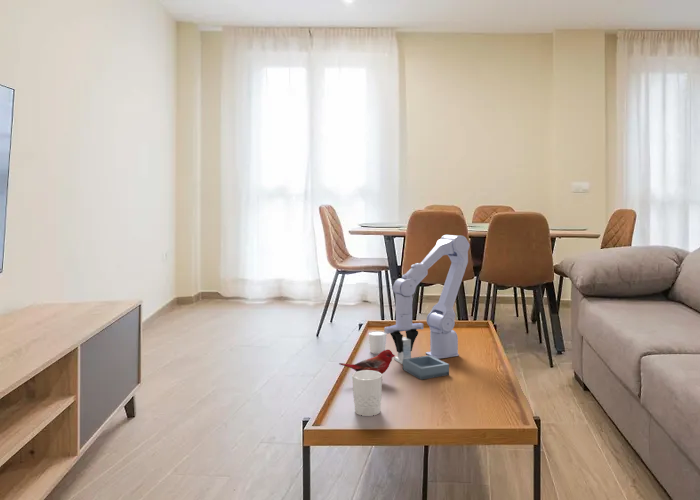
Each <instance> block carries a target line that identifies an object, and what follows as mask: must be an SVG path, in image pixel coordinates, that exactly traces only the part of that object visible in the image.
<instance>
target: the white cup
mask: <svg viewBox="0 0 700 500" xmlns="http://www.w3.org/2000/svg"><path fill="white" fill-rule="evenodd" d="M351 380H352V392H353V393H352V395H353V402H354V403H353V404H354V412H355V414H357V415H358V416H361V415H362V417H373V415H374V416H376V415H378V414H380V413H381V404H382V403H381V401H382V387H383V385H382V384H383V383H382V382H383V374H381V373H380V372H377V371H373V370H362V371H357V372H356V371H355V372H353V373H352V375H351Z"/></svg>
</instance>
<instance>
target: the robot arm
mask: <svg viewBox="0 0 700 500" xmlns="http://www.w3.org/2000/svg"><path fill="white" fill-rule="evenodd" d="M470 246H471V245H470V243H469V241H468V239H467V237H466V236H464V235H463V234H462V235H461V234H460V235H457V234H456V235H455V234H444V235H442V236H441V238H440V239H439V238H438V240H437V241H436V244H435V245H434V247H433V248H431V250H430V251H429V252H428V253H427V254H426V256H425V257H424V258H423V259H422V261H421V262H415V263H414V264H411V265H410V268H409V270H407V271H406V272H405V273H404V274H402V275H401V278H397V279H396V280H395V281H394V283H393V285H392V287H391V289H392V292H393V293H394V294H395V324H394V325H389V326H384V328H383V330H384V331H383V332H385V333H386V335H388V334H390V336H391V338H392V340H393V343H394V346H395V350H396V353H398V352H399V353H401V350H402V345H401V344H402V337H404V334H402V332H405V335H406V336H405V337H406V338H409V339H411V352H413V347H414V344H415V342H416V341H415V340H416V339H417V337H418V335H419V331H418V330H424V323H422V322H414V323H413V295H414V294H415V293H416V289H417V287H418V285H419V284H420V283H421V282H422V281H423V280H424V279H425V278H426V276H428V274H429V273H428V270H429V269H430V268H431V267H432V266H434V264H436V262H438V261H439V260H440V259H441V258H442V257H443V256H448V258H449V260H450V262H451V264H450V266H449V270H448V272H447V275H446V278H445V280H444V281H445V282H444V283H443V287H442V291H441V293H440V296H439V299H438V302H437V303H436V304H434V305H433V306H432V307H431V308H432V309H431V310H430V312H429V313H428V314H427V316H426V324H427V325H428V326H429V330H430V332H429V333H430V335H429V336H430V347H429V348H430V351H426V352H425V354H426V355H427V356H428V355H430V356H433V357H435V358H437V359H439V360H441V359H446V358H452V357H453V358H454V357H458V356H460V353H459V340H458V339H459V338H458V333H457V332H456V331H455V330H454V327H455V325H456V324H455V323H456V321H455V318H456V312H455V310H454V305H455V302H456V299H457V296H458V293H459V290H460V288H461V284H462V280H463V277H464V276H465V272H466V268H467V266H468V264H469V249H470Z"/></svg>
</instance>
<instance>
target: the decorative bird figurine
mask: <svg viewBox="0 0 700 500" xmlns="http://www.w3.org/2000/svg"><path fill="white" fill-rule="evenodd" d="M394 357H397V356H396V355H395V354H393V352H392V350H391V349H385V350H384V351H382V352H381V353H378V354H377V355H376V356H373V357H371V358H367V359H363V360H362V361H359V362H357V363H355V364H352V363H341V362H339V363H338V365H340V366H343V367H347V368H350V369H352V370H353V371H355V372H357V371H362V370H373V371H377V372H380V373H381V374H382V375H383V374H384V373H385V372H386V371H387V370H388V369H389V367H390V364H391V362H392V360H393V358H394Z"/></svg>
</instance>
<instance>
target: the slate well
mask: <svg viewBox="0 0 700 500" xmlns="http://www.w3.org/2000/svg"><path fill="white" fill-rule="evenodd" d="M402 369H403V371H405V372H406V373H408V374H409V375H412V376H414V377H415V378H416V379H417V378H418V379H419V380H421V381H422V380H427V379H433V378H440V377H445V376H450V363H447V362H445V361H444V360H441V359H437V358H435V357H433V356H430V355H428V354H427V355H422V356H415V357H411V358H408V359H403V364H402Z"/></svg>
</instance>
